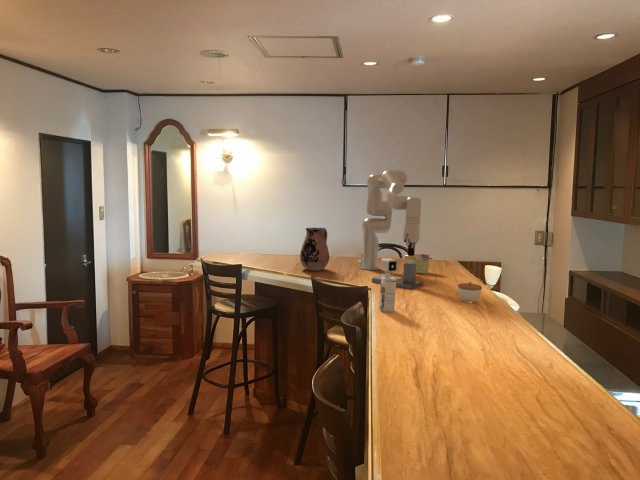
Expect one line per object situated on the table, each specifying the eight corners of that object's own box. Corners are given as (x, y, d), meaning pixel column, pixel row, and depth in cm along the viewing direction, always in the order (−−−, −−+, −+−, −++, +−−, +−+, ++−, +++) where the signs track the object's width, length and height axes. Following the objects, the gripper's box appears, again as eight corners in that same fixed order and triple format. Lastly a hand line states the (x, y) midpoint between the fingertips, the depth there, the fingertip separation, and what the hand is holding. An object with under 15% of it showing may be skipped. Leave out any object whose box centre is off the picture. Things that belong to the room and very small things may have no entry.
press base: (371, 282, 283) (372, 260, 281) (384, 278, 294) (385, 257, 292) (411, 289, 268) (412, 266, 267) (423, 285, 280) (424, 263, 278)
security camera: (387, 278, 280) (388, 260, 279) (379, 276, 286) (380, 258, 285) (396, 278, 283) (397, 259, 282) (388, 275, 289) (389, 257, 288)
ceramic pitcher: (294, 270, 308) (296, 228, 305) (309, 265, 328) (310, 225, 324) (322, 273, 302) (323, 230, 298) (335, 268, 321) (336, 227, 318)
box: (427, 272, 319) (428, 253, 318) (428, 273, 314) (429, 254, 312) (410, 271, 320) (411, 252, 319) (410, 272, 315) (411, 253, 313)
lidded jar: (463, 297, 255) (464, 278, 253) (484, 301, 248) (485, 282, 247) (453, 301, 246) (454, 281, 245) (475, 305, 240) (476, 285, 238)
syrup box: (378, 308, 227) (380, 276, 226) (391, 308, 228) (393, 276, 226) (381, 312, 222) (383, 278, 220) (394, 312, 222) (396, 279, 220)
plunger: (401, 276, 276) (402, 255, 274) (407, 275, 281) (408, 254, 279) (411, 278, 272) (413, 256, 271) (417, 276, 277) (418, 255, 276)
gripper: (412, 219, 281) (411, 253, 283) (399, 220, 269) (397, 256, 271) (425, 220, 276) (423, 254, 278) (412, 222, 264) (410, 257, 267)
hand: (410, 255), depth 275 cm, fingers closed
